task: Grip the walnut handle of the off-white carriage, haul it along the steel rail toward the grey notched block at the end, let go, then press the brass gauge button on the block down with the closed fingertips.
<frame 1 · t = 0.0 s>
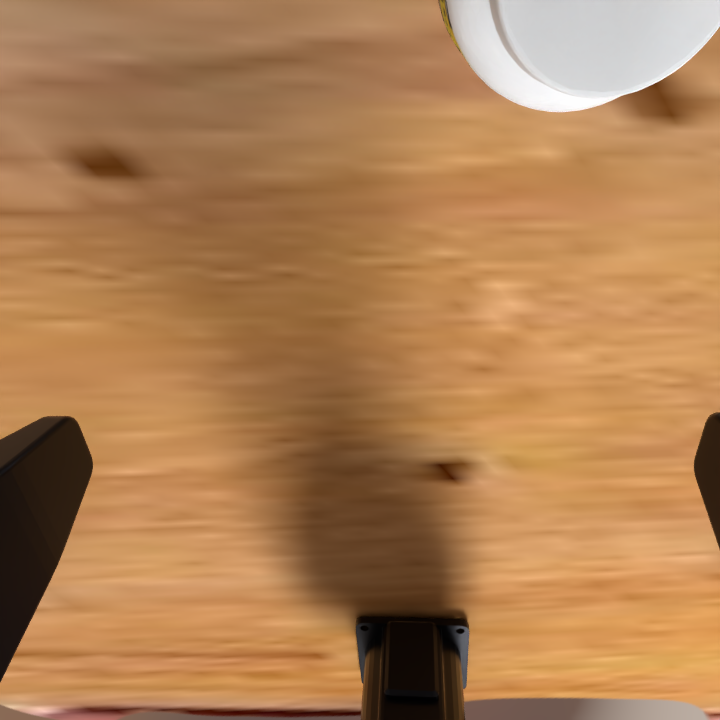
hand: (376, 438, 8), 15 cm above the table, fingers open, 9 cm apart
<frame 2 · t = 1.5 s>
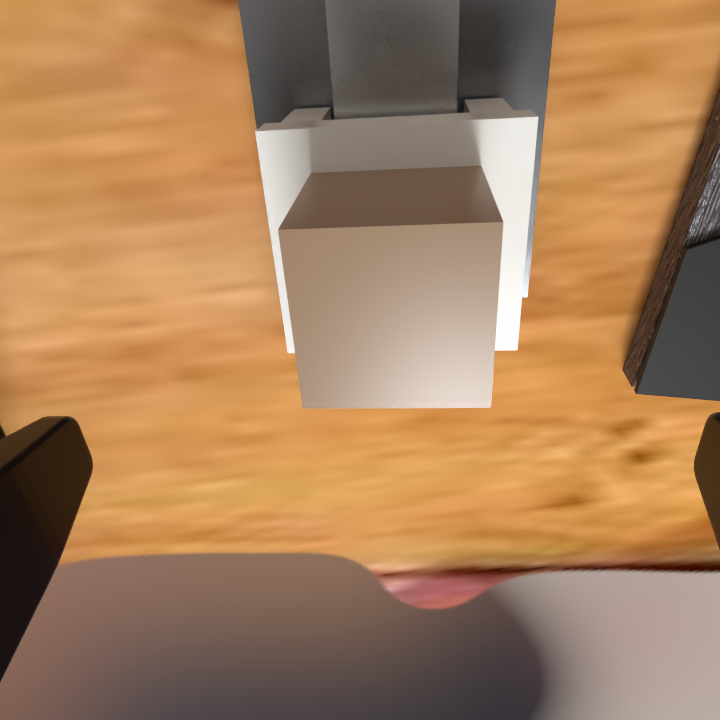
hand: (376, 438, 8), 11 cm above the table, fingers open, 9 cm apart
carriage: (396, 257, 14), point 4 cm above the table, slide at 0.0 cm
rail: (395, 16, 16), on the table
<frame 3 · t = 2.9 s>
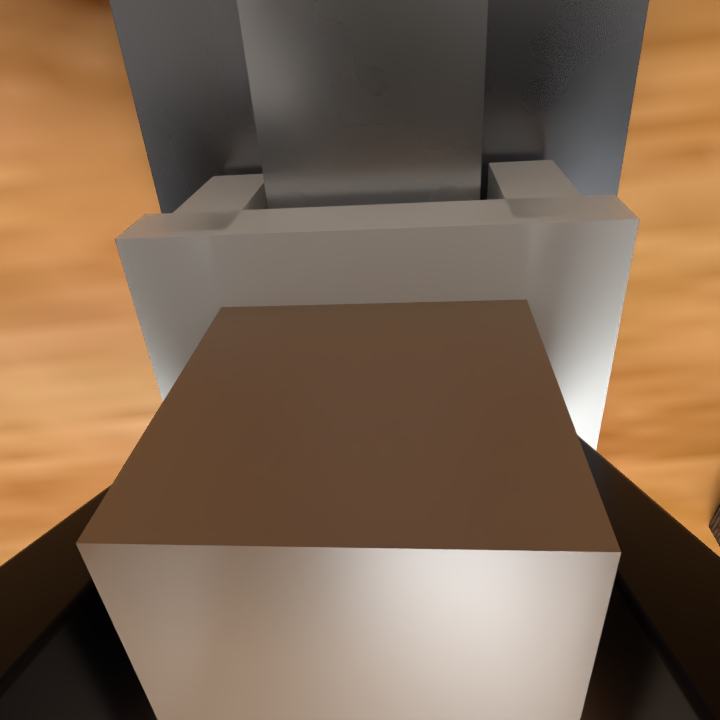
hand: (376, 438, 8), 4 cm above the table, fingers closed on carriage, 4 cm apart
carriage: (375, 446, 8), point 4 cm above the table, slide at 0.0 cm, touching gripper
rail: (374, 26, 9), on the table
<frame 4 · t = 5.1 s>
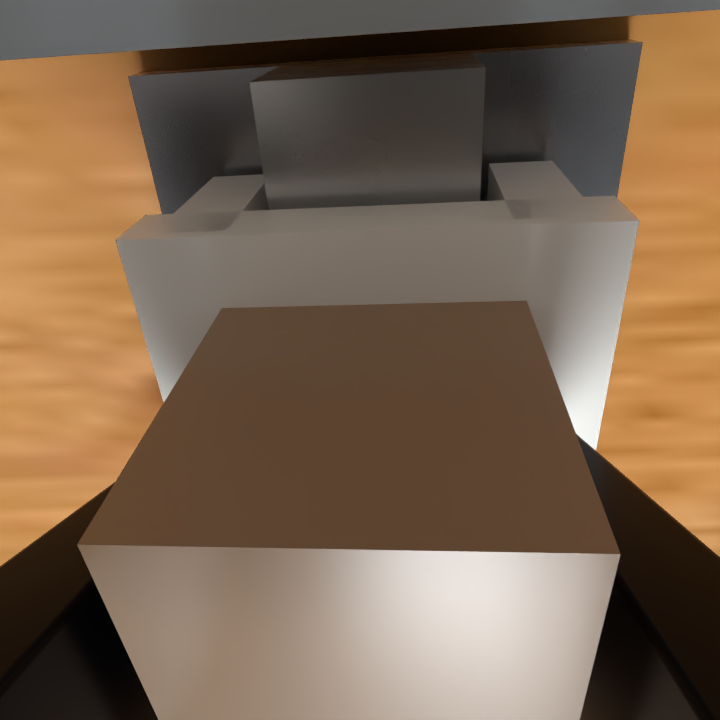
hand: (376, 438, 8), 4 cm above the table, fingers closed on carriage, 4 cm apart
carriage: (376, 447, 8), point 4 cm above the table, slide at 8.4 cm, touching gripper
rail: (393, 437, 14), on the table
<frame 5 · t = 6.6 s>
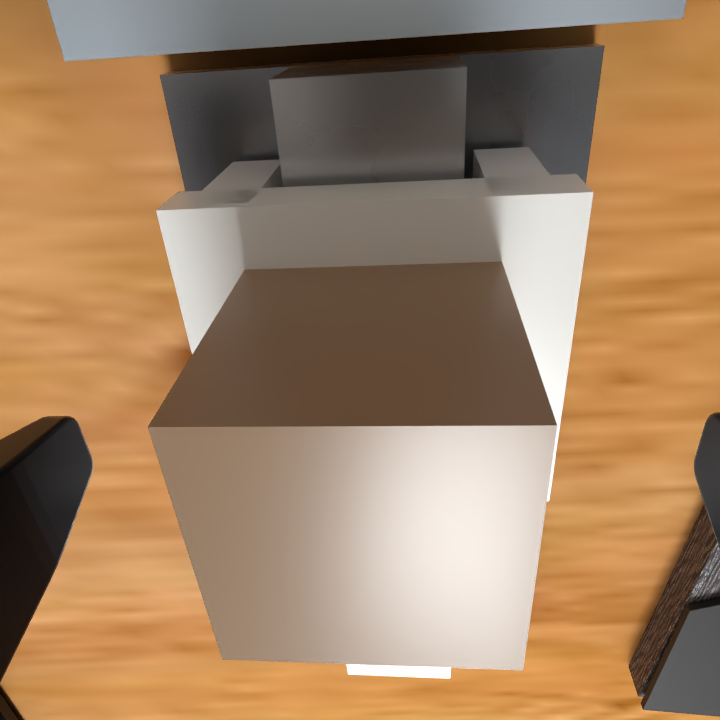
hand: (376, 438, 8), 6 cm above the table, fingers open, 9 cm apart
carriage: (375, 390, 10), point 4 cm above the table, slide at 8.4 cm
rail: (391, 402, 15), on the table
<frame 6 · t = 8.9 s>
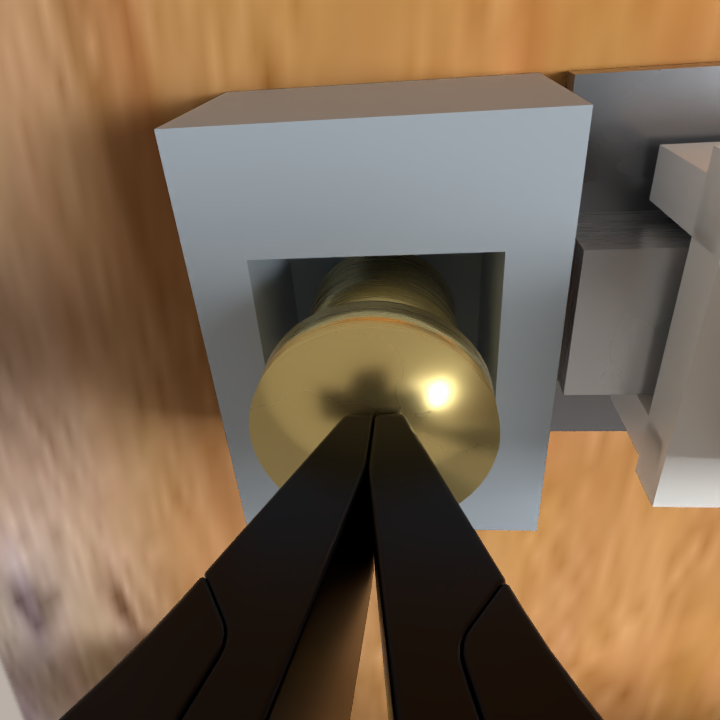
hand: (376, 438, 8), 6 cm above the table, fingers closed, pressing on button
grey notched block: (387, 276, 13), on the table
button: (379, 367, 10), point 4 cm above the table, slide at 0.7 cm, touching gripper
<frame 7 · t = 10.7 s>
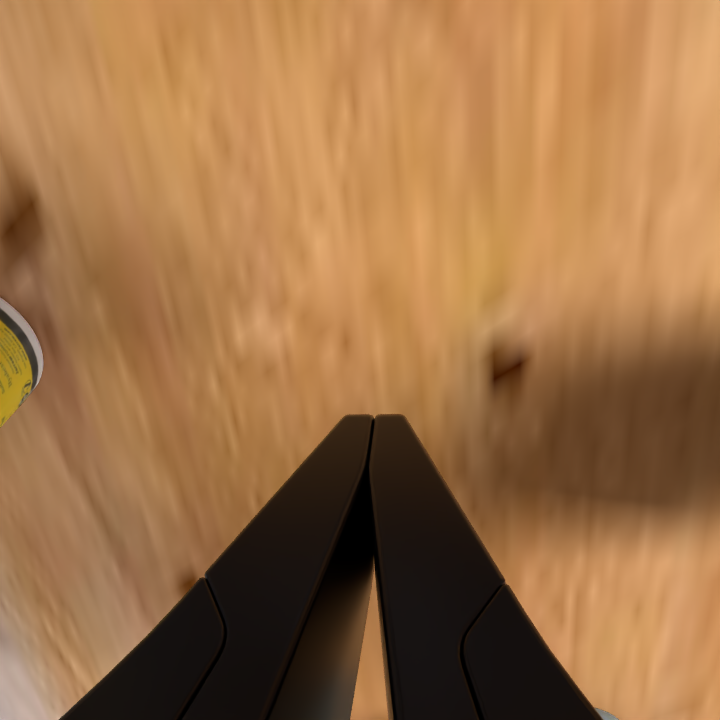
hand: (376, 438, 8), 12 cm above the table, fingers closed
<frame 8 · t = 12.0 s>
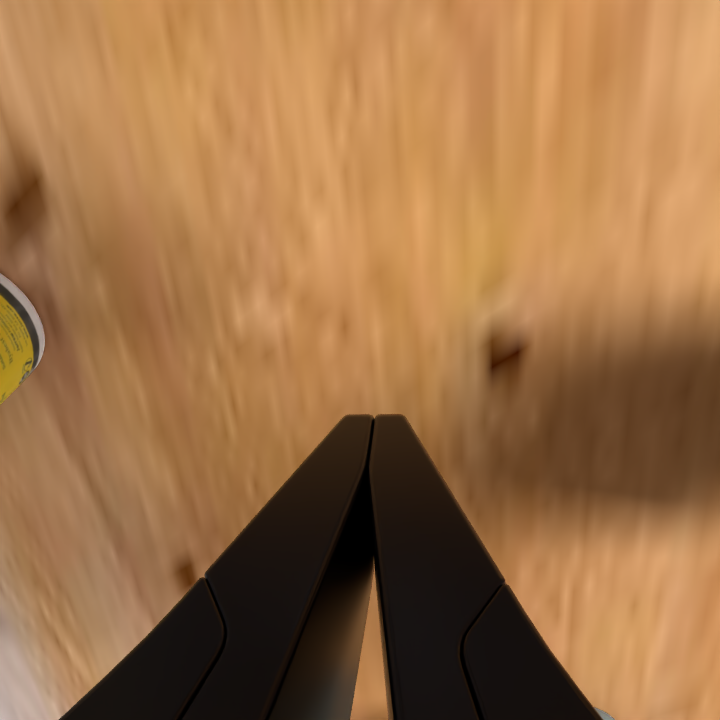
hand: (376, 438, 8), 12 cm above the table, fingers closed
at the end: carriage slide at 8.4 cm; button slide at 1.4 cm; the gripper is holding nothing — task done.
